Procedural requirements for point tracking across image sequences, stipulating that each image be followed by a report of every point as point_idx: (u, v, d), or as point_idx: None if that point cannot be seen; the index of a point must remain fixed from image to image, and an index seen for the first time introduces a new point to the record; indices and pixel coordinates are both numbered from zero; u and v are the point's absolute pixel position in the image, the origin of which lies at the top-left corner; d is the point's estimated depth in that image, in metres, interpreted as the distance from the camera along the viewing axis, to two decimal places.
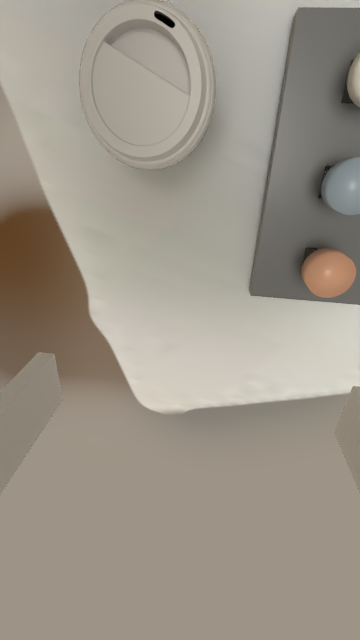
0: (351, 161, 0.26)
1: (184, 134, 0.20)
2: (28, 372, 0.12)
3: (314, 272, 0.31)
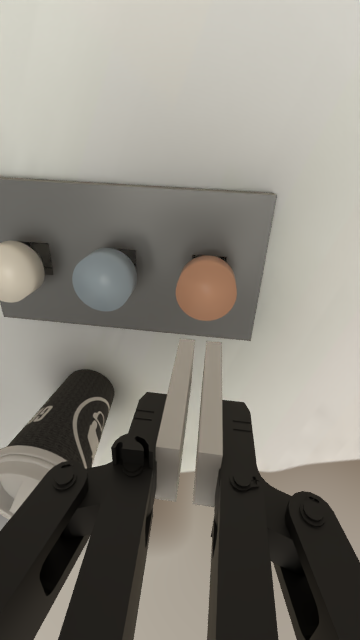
0: (78, 295, 0.25)
1: None
2: (183, 354, 0.14)
3: (200, 313, 0.25)
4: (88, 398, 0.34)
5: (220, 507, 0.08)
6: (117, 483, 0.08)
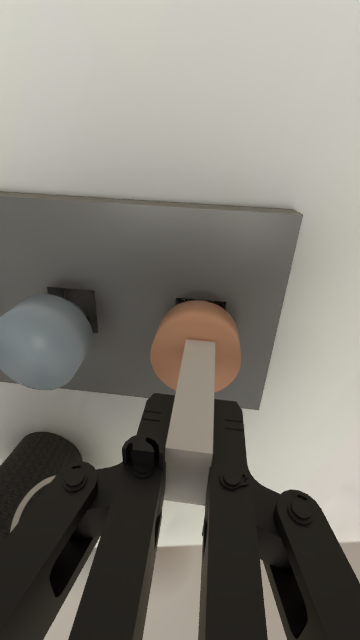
0: (0, 367, 0.16)
1: None
2: (190, 355, 0.14)
3: None
4: (41, 480, 0.25)
5: (209, 506, 0.08)
6: (127, 484, 0.08)
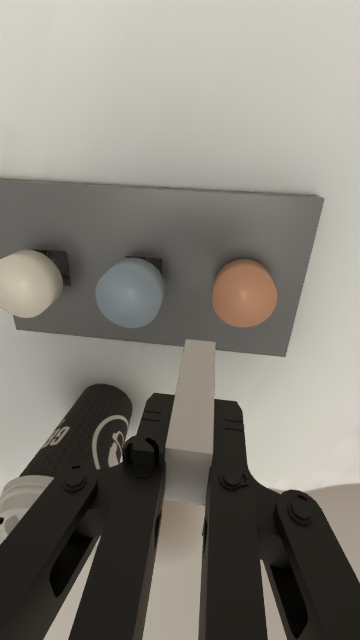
0: (101, 310, 0.23)
1: None
2: (190, 355, 0.14)
3: (237, 319, 0.24)
4: (107, 417, 0.32)
5: (210, 506, 0.08)
6: (127, 484, 0.08)
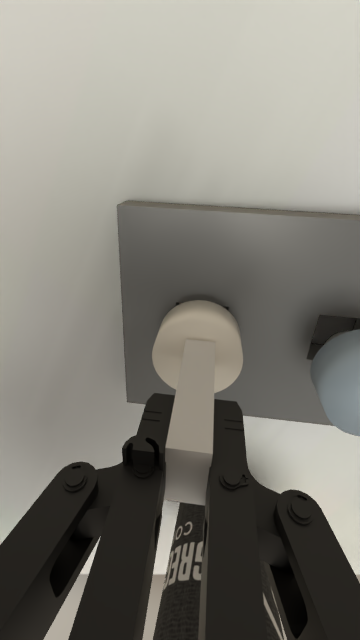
0: (327, 412, 0.14)
1: None
2: (190, 355, 0.14)
3: None
4: None
5: (210, 506, 0.08)
6: (127, 484, 0.08)
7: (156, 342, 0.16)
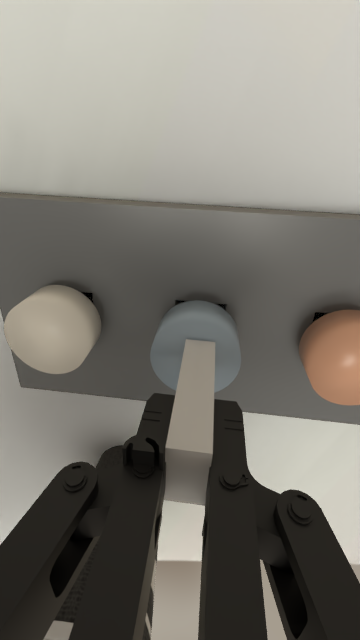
0: (157, 373, 0.17)
1: None
2: (190, 355, 0.14)
3: (341, 395, 0.17)
4: None
5: (209, 506, 0.08)
6: (127, 484, 0.08)
7: (5, 323, 0.17)
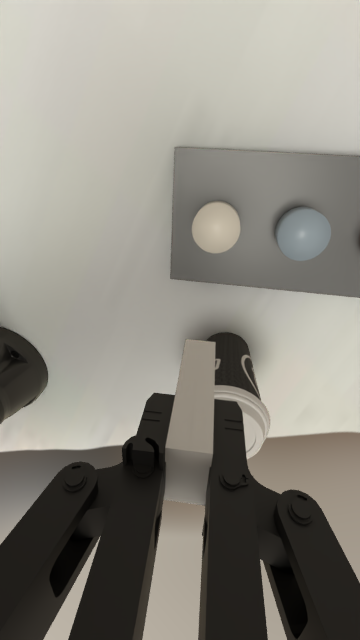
0: (280, 246, 0.30)
1: (252, 418, 0.28)
2: (190, 355, 0.14)
3: None
4: (243, 355, 0.37)
5: (210, 506, 0.08)
6: (127, 484, 0.08)
7: (194, 219, 0.30)
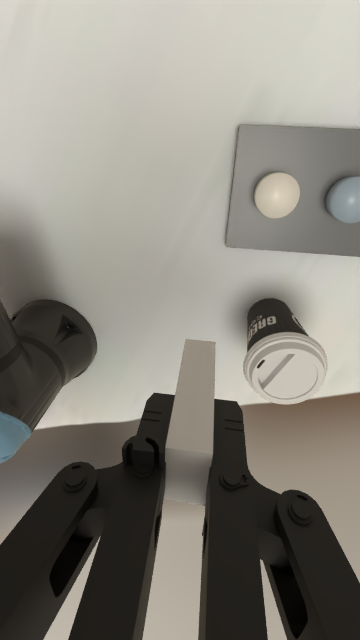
0: (334, 210, 0.34)
1: (316, 358, 0.32)
2: (190, 355, 0.14)
3: None
4: (291, 315, 0.42)
5: (209, 506, 0.08)
6: (127, 484, 0.08)
7: (259, 187, 0.34)
